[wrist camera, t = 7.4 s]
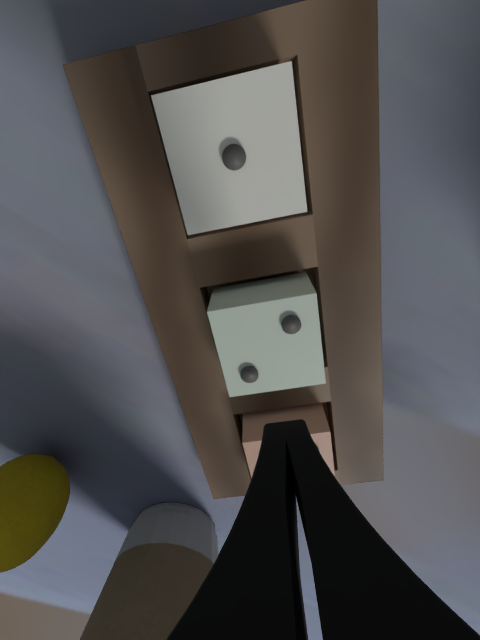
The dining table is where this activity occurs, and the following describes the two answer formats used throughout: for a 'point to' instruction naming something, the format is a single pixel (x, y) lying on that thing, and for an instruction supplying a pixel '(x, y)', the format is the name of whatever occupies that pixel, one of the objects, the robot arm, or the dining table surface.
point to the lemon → (30, 505)
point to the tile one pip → (234, 148)
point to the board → (263, 236)
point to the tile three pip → (308, 413)
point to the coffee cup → (155, 574)
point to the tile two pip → (268, 334)
